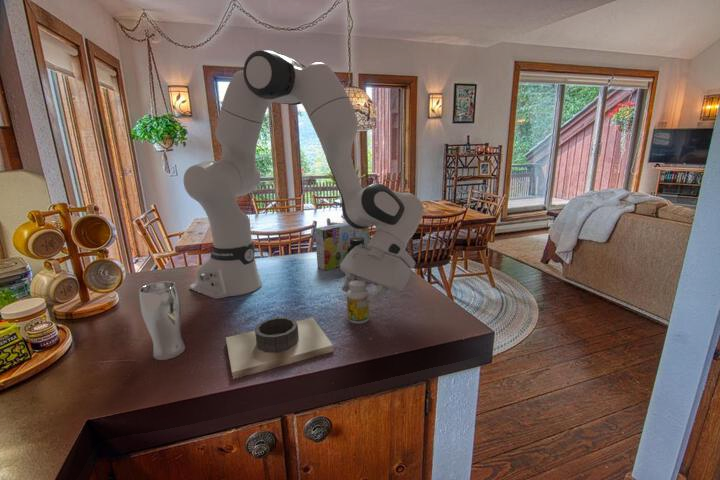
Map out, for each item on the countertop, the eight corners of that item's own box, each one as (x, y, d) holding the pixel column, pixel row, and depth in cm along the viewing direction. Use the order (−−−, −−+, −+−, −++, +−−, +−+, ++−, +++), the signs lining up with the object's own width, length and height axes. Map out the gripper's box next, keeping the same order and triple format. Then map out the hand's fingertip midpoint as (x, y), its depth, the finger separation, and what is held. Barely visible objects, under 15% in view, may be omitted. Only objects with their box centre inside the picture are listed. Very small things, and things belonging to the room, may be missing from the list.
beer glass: (162, 365, 70) (148, 296, 66) (144, 355, 73) (130, 289, 70) (194, 348, 75) (183, 284, 72) (175, 340, 79) (164, 278, 75)
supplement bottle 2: (372, 321, 85) (372, 285, 83) (352, 326, 83) (351, 288, 81) (364, 312, 90) (363, 277, 87) (344, 316, 88) (343, 281, 86)
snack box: (361, 255, 139) (360, 218, 135) (370, 258, 135) (369, 220, 131) (316, 267, 126) (314, 227, 122) (325, 271, 122) (323, 229, 118)
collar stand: (233, 379, 65) (229, 355, 63) (226, 343, 77) (223, 323, 76) (333, 351, 73) (332, 330, 72) (312, 323, 85) (311, 304, 84)
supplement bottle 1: (365, 276, 115) (364, 241, 112) (345, 275, 117) (344, 241, 114) (369, 269, 122) (368, 236, 119) (350, 268, 123) (349, 236, 120)
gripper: (351, 236, 94) (324, 279, 90) (409, 251, 79) (379, 303, 75) (364, 248, 98) (338, 290, 94) (421, 265, 83) (393, 315, 79)
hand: (356, 296), depth 85 cm, fingers open, 8 cm apart
